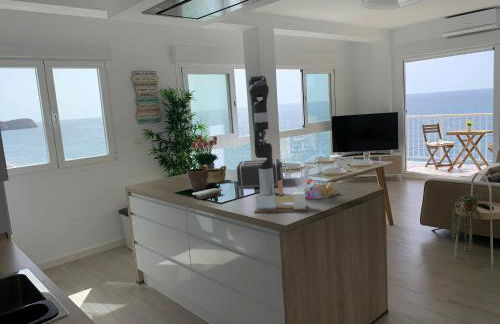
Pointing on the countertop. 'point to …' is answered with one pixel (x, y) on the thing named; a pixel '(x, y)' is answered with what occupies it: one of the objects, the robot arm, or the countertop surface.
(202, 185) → the plant pot
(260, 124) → the robot arm
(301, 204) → the socket
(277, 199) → the sliding latch bolt
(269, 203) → the sleeve
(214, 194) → the packaged product
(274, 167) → the toaster
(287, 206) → the base board
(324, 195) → the candy landscape model
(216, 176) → the woven basket
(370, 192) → the countertop surface
